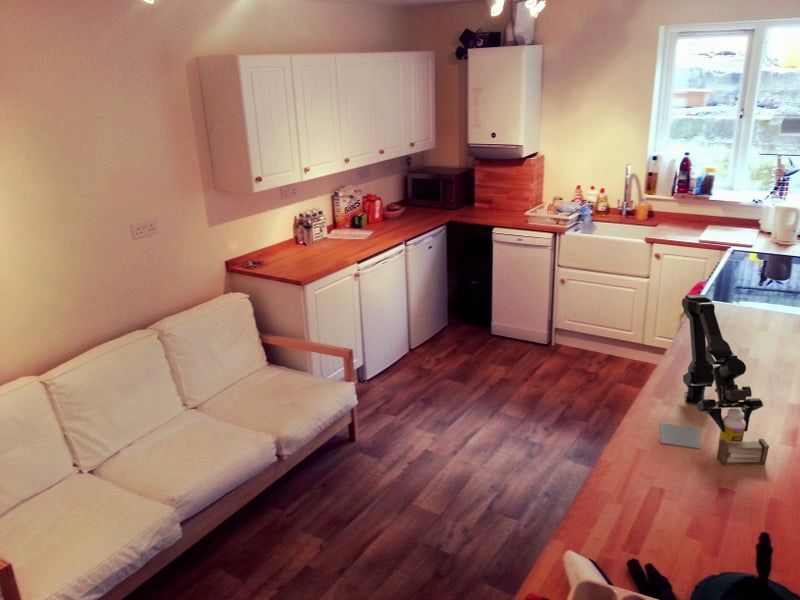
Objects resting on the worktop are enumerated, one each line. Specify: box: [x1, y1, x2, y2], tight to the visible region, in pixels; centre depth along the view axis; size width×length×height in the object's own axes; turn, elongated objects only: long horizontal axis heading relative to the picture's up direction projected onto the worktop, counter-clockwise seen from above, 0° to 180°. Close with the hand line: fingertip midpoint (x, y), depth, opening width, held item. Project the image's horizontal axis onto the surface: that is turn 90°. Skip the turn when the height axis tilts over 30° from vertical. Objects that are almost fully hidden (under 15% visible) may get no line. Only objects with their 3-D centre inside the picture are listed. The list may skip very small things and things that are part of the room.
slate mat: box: [659, 422, 701, 450], centre depth 218 cm, size 12×12×1 cm
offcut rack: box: [716, 438, 770, 467], centre depth 204 cm, size 4×13×7 cm, turn 88°
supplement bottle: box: [718, 408, 746, 443], centre depth 210 cm, size 7×7×13 cm
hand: (734, 431), depth 208 cm, fingers closed on supplement bottle, 7 cm apart
